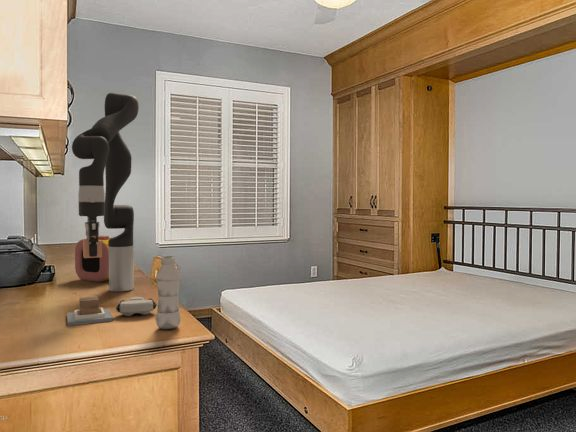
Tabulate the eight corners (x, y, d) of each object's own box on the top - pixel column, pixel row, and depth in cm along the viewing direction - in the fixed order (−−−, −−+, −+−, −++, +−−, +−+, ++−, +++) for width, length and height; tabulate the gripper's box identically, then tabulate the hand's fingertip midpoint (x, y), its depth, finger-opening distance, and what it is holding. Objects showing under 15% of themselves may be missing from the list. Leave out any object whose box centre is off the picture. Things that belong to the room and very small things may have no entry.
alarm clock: (73, 280, 202) (72, 236, 201) (93, 276, 212) (92, 234, 211) (106, 283, 195) (105, 237, 194) (124, 279, 205) (124, 235, 204)
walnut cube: (79, 314, 140) (79, 297, 140) (97, 312, 143) (97, 296, 142) (80, 317, 136) (80, 301, 136) (98, 316, 138) (98, 299, 138)
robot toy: (116, 311, 152) (115, 319, 138) (116, 297, 152) (114, 304, 138) (155, 308, 156) (157, 316, 142) (155, 295, 156) (157, 301, 142)
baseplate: (67, 315, 142) (66, 309, 142) (108, 311, 147) (108, 305, 147) (67, 325, 131) (67, 318, 131) (112, 320, 137) (112, 314, 137)
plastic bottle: (158, 325, 132) (157, 255, 131) (182, 324, 132) (182, 255, 132) (153, 331, 126) (152, 258, 125) (178, 331, 126) (178, 258, 125)
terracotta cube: (83, 256, 145) (83, 240, 145) (100, 255, 147) (100, 240, 147) (84, 258, 141) (84, 241, 141) (102, 257, 143) (101, 241, 143)
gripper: (77, 201, 148) (78, 254, 149) (79, 200, 136) (80, 258, 136) (102, 201, 152) (103, 253, 152) (107, 200, 139) (107, 257, 139)
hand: (92, 255), depth 144 cm, fingers closed on terracotta cube, 5 cm apart
